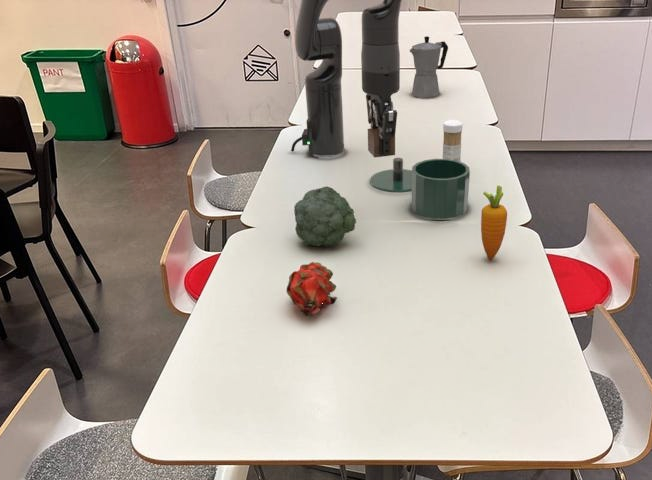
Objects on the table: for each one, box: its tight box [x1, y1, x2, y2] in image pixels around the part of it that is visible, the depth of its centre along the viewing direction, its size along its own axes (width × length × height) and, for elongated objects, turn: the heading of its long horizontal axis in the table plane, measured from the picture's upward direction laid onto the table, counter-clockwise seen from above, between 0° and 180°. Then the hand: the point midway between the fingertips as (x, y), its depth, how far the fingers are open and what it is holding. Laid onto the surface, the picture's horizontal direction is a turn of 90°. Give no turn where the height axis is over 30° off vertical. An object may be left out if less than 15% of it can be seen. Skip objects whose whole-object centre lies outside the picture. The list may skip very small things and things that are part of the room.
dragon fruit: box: [286, 261, 338, 317], centre depth 125 cm, size 8×8×12 cm
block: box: [367, 127, 396, 158], centre depth 147 cm, size 5×5×5 cm
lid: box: [369, 157, 412, 193], centre depth 171 cm, size 14×14×6 cm
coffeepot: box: [409, 36, 449, 99], centre depth 230 cm, size 15×9×18 cm, turn 125°
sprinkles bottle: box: [442, 119, 463, 162], centre depth 172 cm, size 5×5×14 cm
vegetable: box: [293, 185, 357, 248], centre depth 146 cm, size 12×13×15 cm
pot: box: [411, 158, 471, 222], centre depth 157 cm, size 13×13×10 cm
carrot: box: [480, 185, 508, 261], centre depth 136 cm, size 5×5×15 cm
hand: (381, 151), depth 148 cm, fingers closed on block, 4 cm apart
